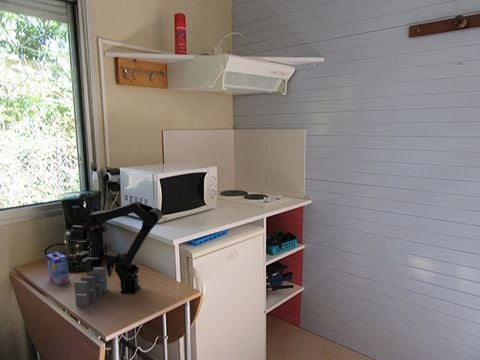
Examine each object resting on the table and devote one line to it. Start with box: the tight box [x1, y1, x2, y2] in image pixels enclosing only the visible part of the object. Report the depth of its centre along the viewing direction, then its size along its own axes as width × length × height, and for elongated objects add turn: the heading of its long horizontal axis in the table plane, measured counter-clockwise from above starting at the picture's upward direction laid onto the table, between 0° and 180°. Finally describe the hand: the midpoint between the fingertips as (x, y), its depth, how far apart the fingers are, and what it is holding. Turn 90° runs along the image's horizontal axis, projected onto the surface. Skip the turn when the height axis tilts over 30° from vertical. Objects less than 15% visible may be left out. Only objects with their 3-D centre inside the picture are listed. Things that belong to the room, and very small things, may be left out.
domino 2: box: [80, 275, 97, 302], centre depth 143 cm, size 5×2×10 cm, turn 82°
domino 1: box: [73, 280, 91, 308], centre depth 138 cm, size 5×2×10 cm, turn 82°
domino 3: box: [86, 270, 103, 297], centre depth 147 cm, size 5×2×10 cm, turn 82°
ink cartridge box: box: [46, 250, 70, 285], centre depth 161 cm, size 10×6×14 cm, turn 50°
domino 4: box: [92, 266, 108, 292], centre depth 151 cm, size 5×2×10 cm, turn 82°
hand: (99, 275), depth 151 cm, fingers open, 9 cm apart
